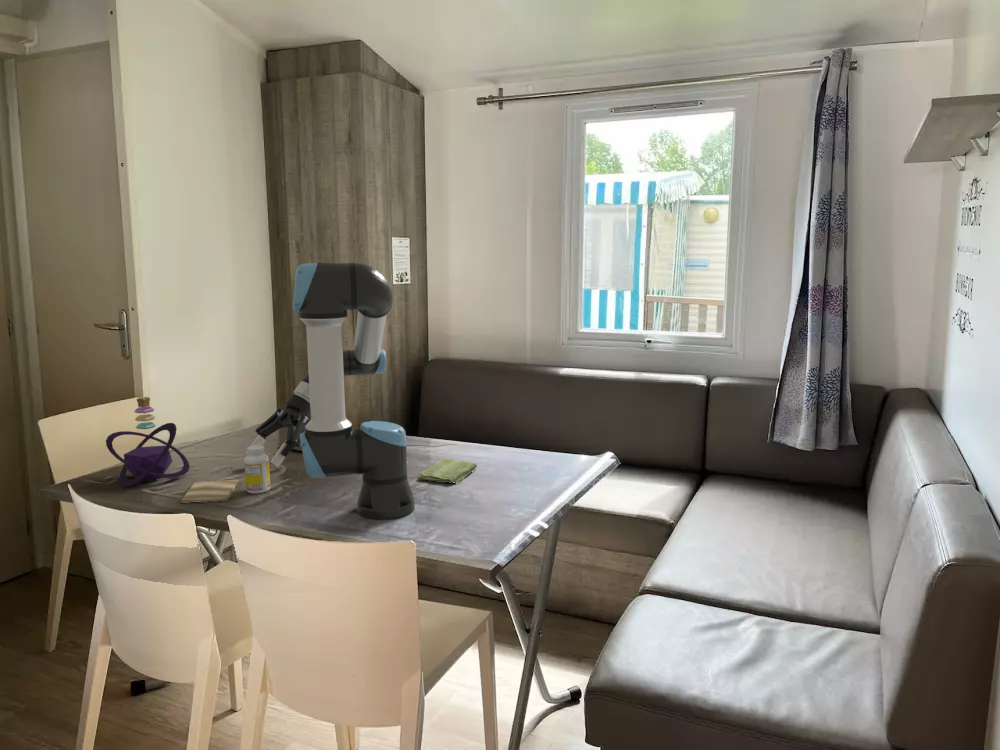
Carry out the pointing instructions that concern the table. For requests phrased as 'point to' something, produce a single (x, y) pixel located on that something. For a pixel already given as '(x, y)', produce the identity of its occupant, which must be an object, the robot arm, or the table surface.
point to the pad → (210, 491)
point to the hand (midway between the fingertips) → (261, 460)
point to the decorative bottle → (147, 450)
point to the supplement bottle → (257, 470)
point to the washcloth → (448, 471)
